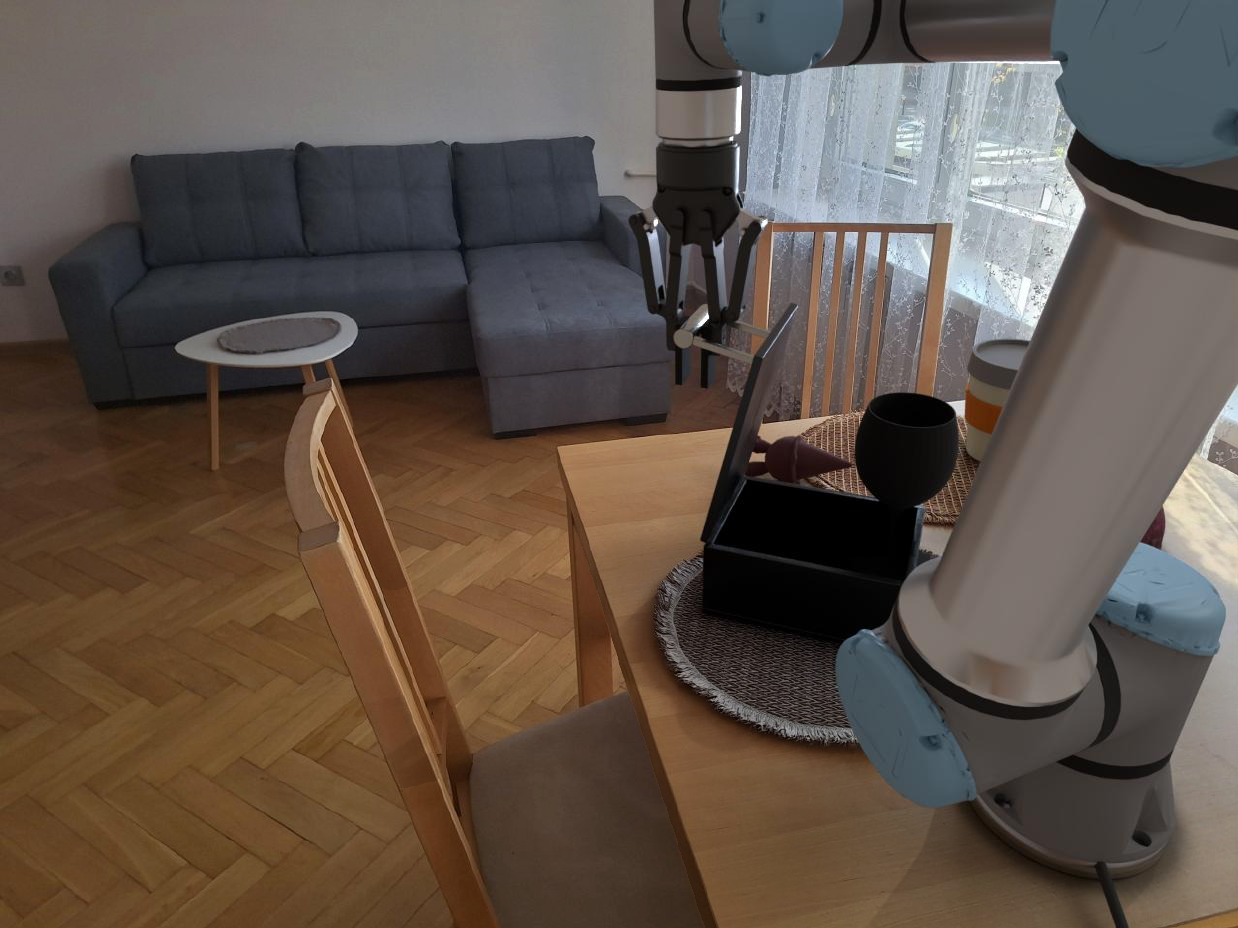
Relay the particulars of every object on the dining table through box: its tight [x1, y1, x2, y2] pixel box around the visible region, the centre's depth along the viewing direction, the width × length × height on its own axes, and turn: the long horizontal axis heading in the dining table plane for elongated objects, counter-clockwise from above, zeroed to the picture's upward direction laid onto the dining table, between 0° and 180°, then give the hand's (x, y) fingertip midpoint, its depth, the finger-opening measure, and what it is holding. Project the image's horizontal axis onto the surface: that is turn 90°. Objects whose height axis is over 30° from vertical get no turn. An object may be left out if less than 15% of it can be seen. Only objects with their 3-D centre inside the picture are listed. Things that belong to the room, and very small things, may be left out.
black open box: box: [701, 475, 927, 646], centre depth 90 cm, size 21×16×9 cm
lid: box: [674, 302, 799, 544], centre depth 86 cm, size 21×16×9 cm
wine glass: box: [851, 391, 960, 581], centre depth 91 cm, size 10×10×20 cm
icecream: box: [744, 434, 853, 485], centre depth 112 cm, size 7×7×15 cm
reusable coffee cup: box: [964, 337, 1031, 463], centre depth 115 cm, size 13×13×15 cm
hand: (695, 381), depth 86 cm, fingers closed on lid, 2 cm apart
